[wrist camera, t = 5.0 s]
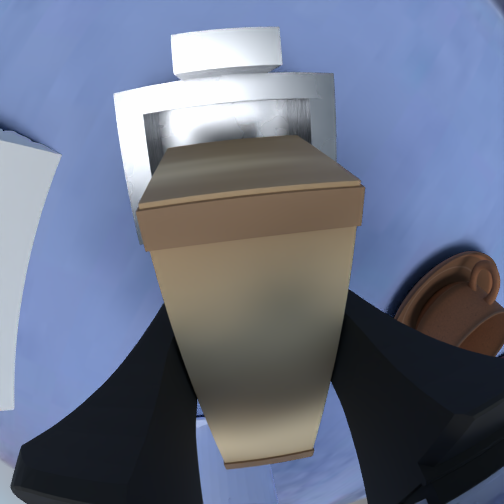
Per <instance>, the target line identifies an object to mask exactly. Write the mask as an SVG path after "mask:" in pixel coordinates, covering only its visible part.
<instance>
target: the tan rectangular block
mask: <svg viewBox="0 0 504 504" xmlns="http://www.w3.org/2000/svg"><path fill="white" fill-rule="evenodd" d="M360 183H361V180H359V179H358V178H357V177H355V176H354V175H353V174H351V173H350V172H349V171H347V170H346V169H345V168H343V167H342V166H341V165H339V164H338V163H337V162H335V161H334V160H332V159H331V158H330V157H328V156H327V155H325V154H324V153H323V152H321V151H320V150H318V149H317V148H315V147H314V146H313V145H311V144H310V143H308V142H307V141H305V140H304V139H302V138H301V137H299V136H298V135H286V136H270V137H256V138H245V139H234V140H224V141H215V142H207V143H199V144H191V145H184V146H177V147H171V148H168V149H167V150H166V152H165V154H164V156H163V157H162V159H161V161H160V163H159V165H158V167H157V169H156V170H155V172H154V174H153V176H152V178H151V180H150V182H149V184H148V186H147V188H146V190H145V192H144V194H143V196H142V198H141V200H140V202H139V204H138V205H139V206H138V208H137V210H136V215H137V220H138V224H139V228H140V232H141V236H142V240H143V243H144V247H145V251H146V252H147V251H150V254H151V258H152V262H153V265H154V269H155V272H156V276H157V280H158V283H159V287H160V290H161V293H162V297H163V300H164V303H165V307H166V310H167V313H168V316H169V319H170V322H171V326H172V329H173V332H174V335H175V338H176V341H177V344H178V347H179V349H180V352H181V355H182V358H183V361H184V364H185V367H186V369H187V372H188V375H189V377H190V380H191V383H192V385H193V388H194V391H195V393H196V396H197V398H198V401H199V404H200V406H201V409H202V411H203V414H204V416H205V418H206V421H207V423H208V426H209V428H210V430H211V433H212V435H213V437H214V440H215V442H216V444H217V447H218V449H219V451H220V453H221V455H222V458H223V460H224V466H225V468H226V470H228V469H238V468H246V467H254V466H261V465H268V464H274V463H280V462H286V461H291V460H296V459H301V458H306V457H310V456H313V453H314V448H313V446H314V443H315V439H316V436H317V432H318V429H319V425H320V421H321V417H322V414H323V410H324V406H325V402H326V398H327V394H328V390H329V385H330V381H331V377H332V372H333V368H334V363H335V359H336V354H337V349H338V344H339V339H340V334H341V329H342V323H343V318H344V312H345V306H346V300H347V294H348V288H349V281H350V275H351V268H352V260H353V253H354V245H355V236H356V227H357V226H361V223H362V214H363V204H364V193H365V187H364V186H363V185H362V184H360Z"/></svg>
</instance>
